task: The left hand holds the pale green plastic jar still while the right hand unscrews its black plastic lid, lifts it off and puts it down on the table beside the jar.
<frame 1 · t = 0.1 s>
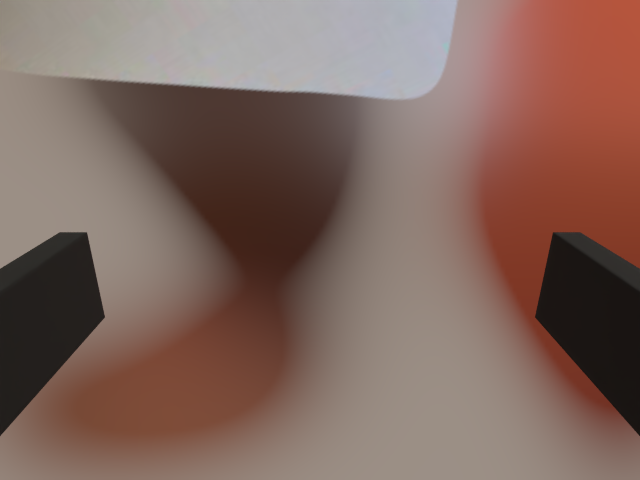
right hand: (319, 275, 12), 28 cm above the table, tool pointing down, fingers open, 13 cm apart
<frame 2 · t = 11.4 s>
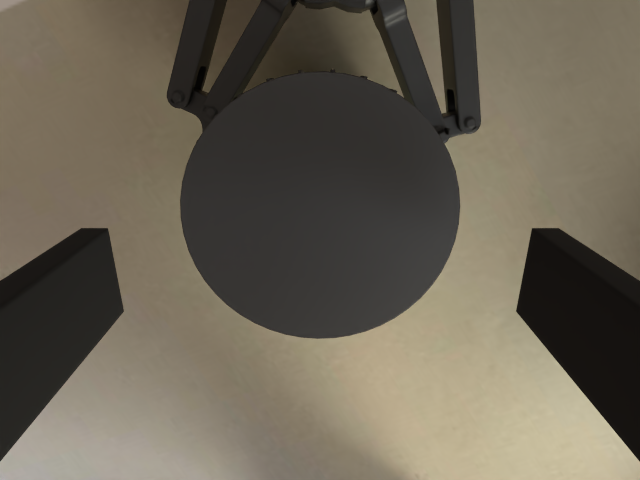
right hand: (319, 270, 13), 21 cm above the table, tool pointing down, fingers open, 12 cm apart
lid: (320, 218, 17), point 16 cm above the table, screwed on, not yet turned
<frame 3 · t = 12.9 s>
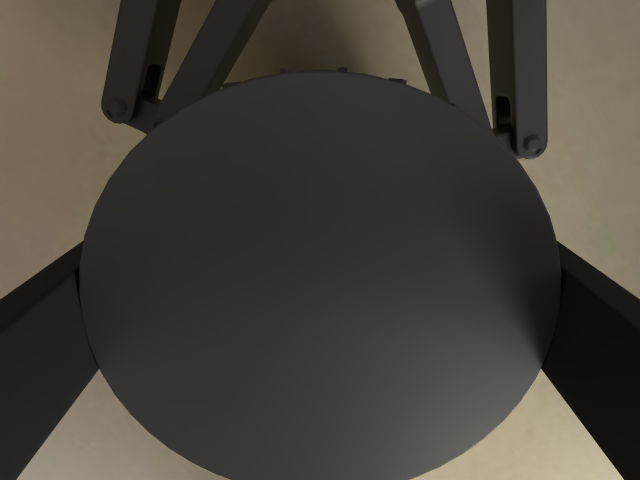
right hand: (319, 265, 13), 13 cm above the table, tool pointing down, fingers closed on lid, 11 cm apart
lid: (320, 317, 10), point 16 cm above the table, screwed on, not yet turned, touching right hand
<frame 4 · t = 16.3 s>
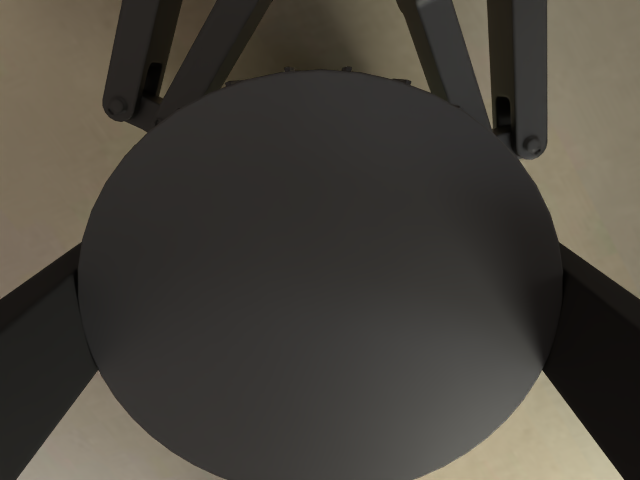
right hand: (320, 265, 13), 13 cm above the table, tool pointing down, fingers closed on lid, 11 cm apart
lid: (320, 318, 10), point 16 cm above the table, turned 99° so far, risen 0.1 cm, still on its thread, touching right hand
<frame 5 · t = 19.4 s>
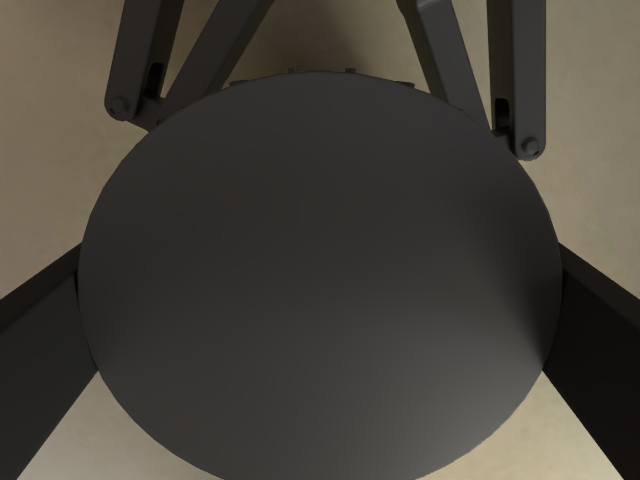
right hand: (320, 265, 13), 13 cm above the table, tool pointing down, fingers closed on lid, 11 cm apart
lid: (319, 319, 10), point 16 cm above the table, turned 198° so far, risen 0.2 cm, still on its thread, touching right hand
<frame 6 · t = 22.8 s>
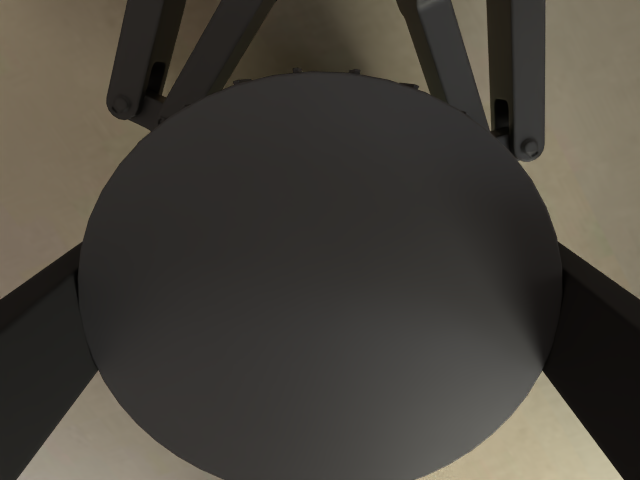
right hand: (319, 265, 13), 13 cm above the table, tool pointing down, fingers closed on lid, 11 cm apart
lid: (320, 319, 10), point 16 cm above the table, turned 296° so far, risen 0.3 cm, still on its thread, touching right hand
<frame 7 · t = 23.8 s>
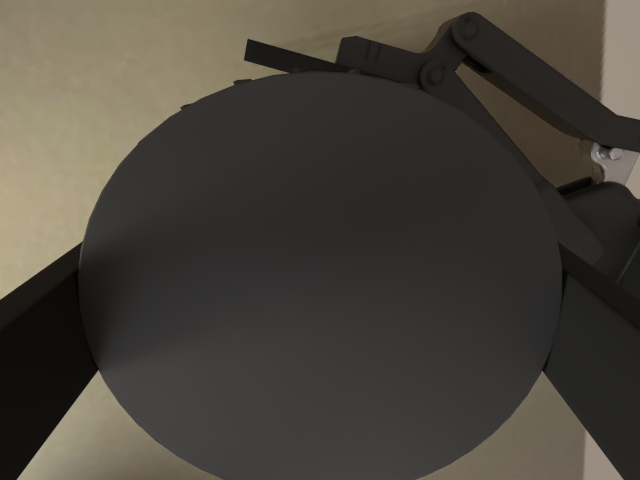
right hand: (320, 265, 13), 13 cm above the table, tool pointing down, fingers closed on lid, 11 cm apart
lid: (320, 319, 10), point 16 cm above the table, off its thread, touching right hand
when the right hand's fingers open (1 cm above the table, at t = 29.1 s): lid drops 2 cm, point 2 cm above the table.
when the left hand's fingers open (6 cm above the table, at t = 30.1 s): jar stays where it is, on the table.
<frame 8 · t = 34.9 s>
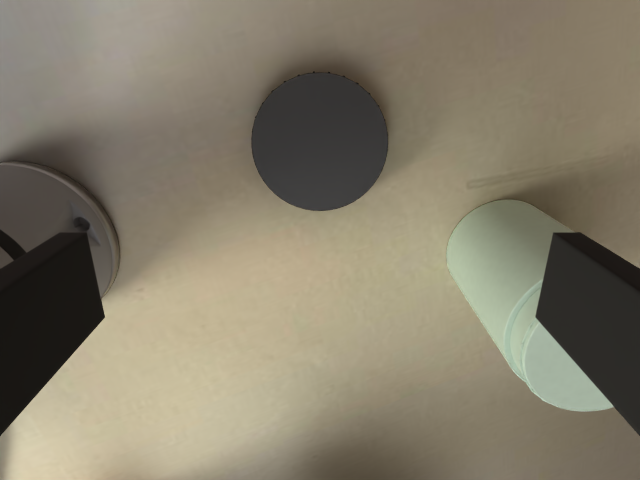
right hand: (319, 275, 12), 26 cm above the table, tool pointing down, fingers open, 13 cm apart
lid: (319, 145, 35), point 2 cm above the table, off its thread
jar: (499, 250, 40), on the table
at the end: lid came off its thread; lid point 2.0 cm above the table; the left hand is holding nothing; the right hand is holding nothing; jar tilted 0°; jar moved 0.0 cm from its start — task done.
